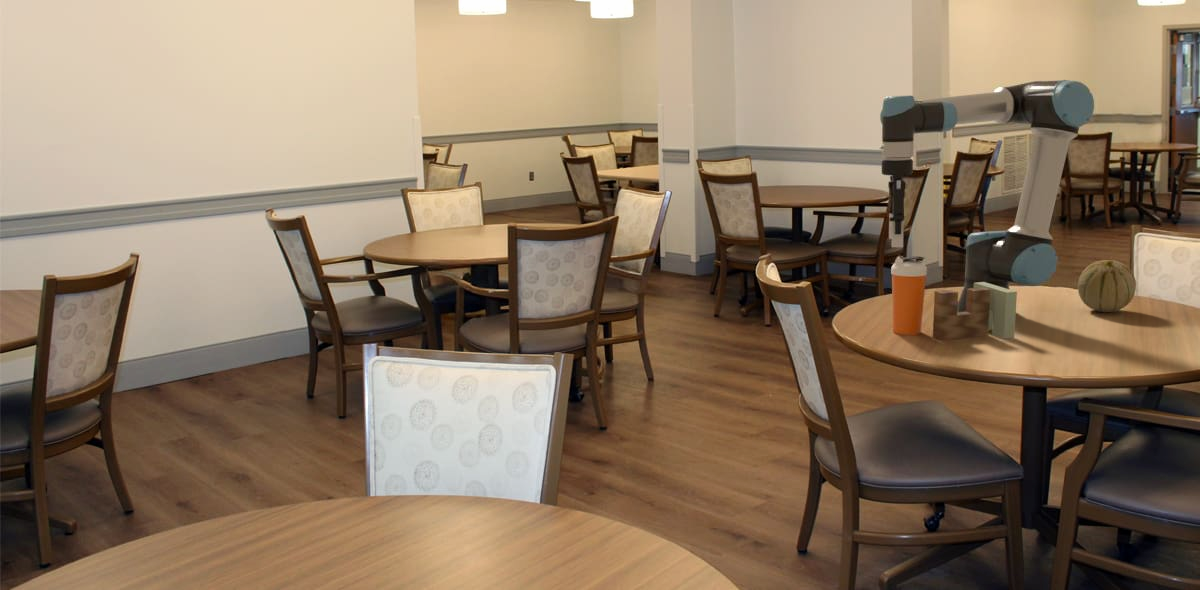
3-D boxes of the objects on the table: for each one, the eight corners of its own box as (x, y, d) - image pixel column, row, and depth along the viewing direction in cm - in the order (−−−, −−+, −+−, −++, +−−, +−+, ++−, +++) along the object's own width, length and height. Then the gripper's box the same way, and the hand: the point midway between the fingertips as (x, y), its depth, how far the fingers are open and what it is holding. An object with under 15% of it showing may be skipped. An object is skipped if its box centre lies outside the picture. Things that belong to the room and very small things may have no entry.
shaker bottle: (926, 336, 260) (929, 259, 256) (890, 335, 262) (893, 259, 258) (922, 328, 269) (925, 254, 265) (887, 327, 271) (890, 254, 267)
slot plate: (971, 326, 269) (973, 282, 267) (981, 325, 270) (983, 281, 267) (1003, 338, 256) (1006, 292, 253) (1014, 337, 256) (1016, 291, 254)
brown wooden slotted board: (981, 332, 263) (983, 287, 260) (987, 335, 260) (990, 289, 257) (932, 336, 259) (934, 291, 257) (939, 339, 257) (941, 293, 254)
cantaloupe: (1116, 305, 290) (1120, 253, 287) (1145, 316, 276) (1149, 262, 273) (1065, 306, 290) (1069, 255, 287) (1091, 318, 275) (1095, 264, 272)
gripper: (879, 155, 264) (878, 235, 269) (884, 163, 241) (882, 250, 245) (909, 154, 263) (907, 235, 267) (916, 162, 239) (914, 250, 243)
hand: (895, 242), depth 256 cm, fingers open, 13 cm apart
